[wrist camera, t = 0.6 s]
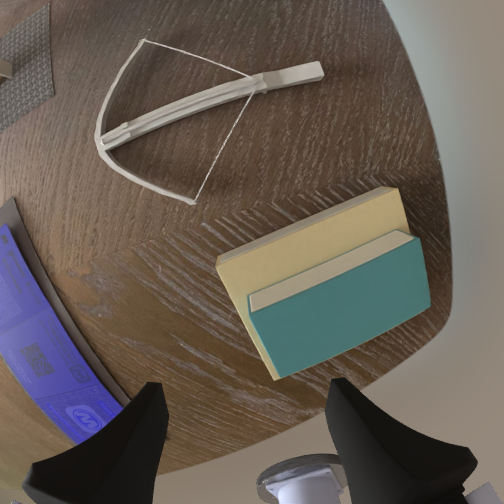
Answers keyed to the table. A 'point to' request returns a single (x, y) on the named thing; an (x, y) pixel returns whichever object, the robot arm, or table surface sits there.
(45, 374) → the booklet
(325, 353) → the teal rectangular block
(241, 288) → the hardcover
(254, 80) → the crossbow
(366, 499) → the robot arm
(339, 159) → the table surface
